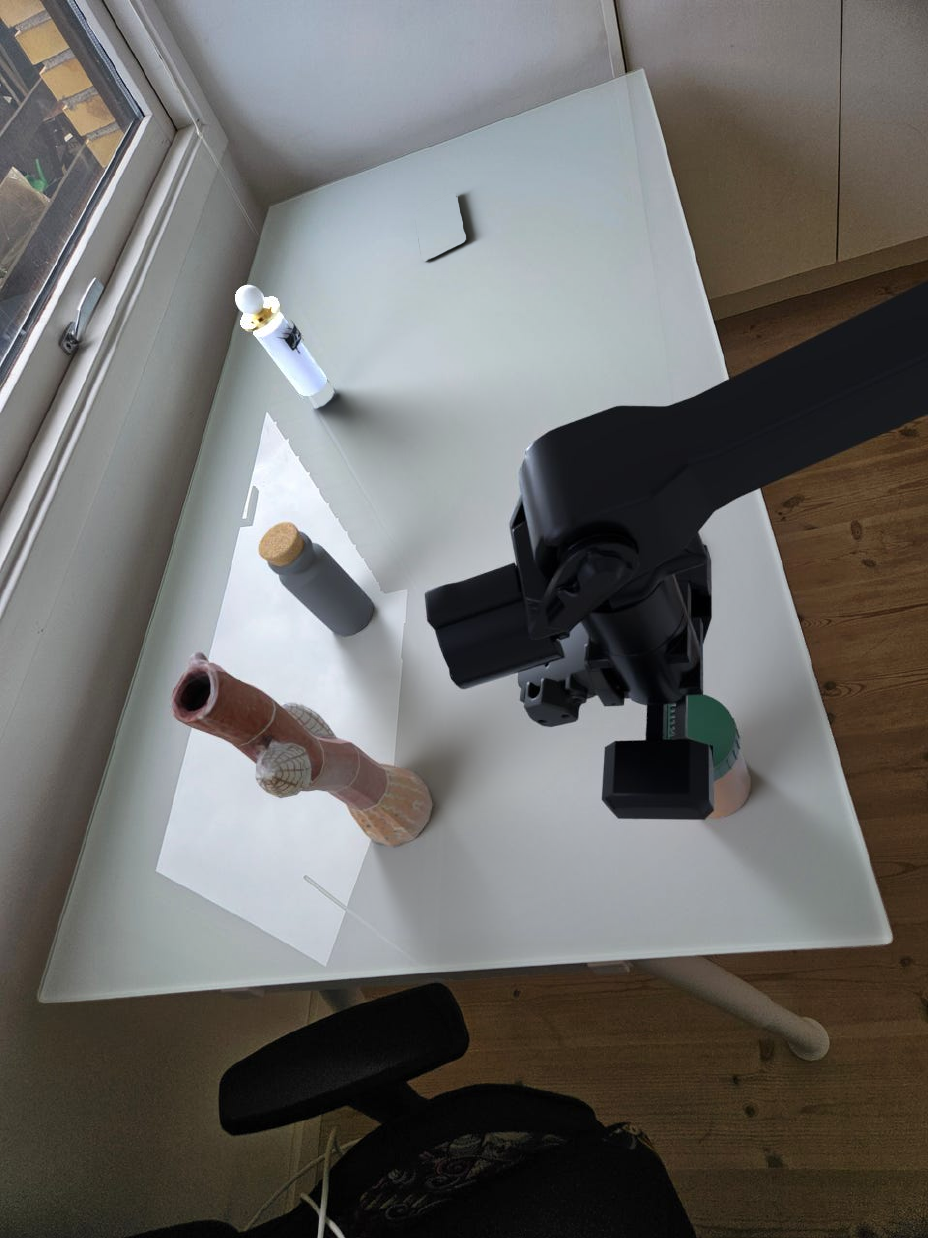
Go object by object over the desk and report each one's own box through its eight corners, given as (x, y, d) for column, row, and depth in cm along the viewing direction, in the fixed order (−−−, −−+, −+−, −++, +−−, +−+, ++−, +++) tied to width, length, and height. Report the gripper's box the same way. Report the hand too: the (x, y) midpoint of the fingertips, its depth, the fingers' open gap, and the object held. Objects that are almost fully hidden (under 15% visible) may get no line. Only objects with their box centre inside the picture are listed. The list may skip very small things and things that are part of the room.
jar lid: (760, 743, 59) (756, 730, 57) (694, 804, 59) (689, 794, 57) (695, 689, 63) (689, 676, 62) (633, 746, 63) (626, 734, 61)
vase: (365, 777, 82) (161, 630, 59) (431, 760, 79) (246, 600, 56) (365, 882, 75) (138, 763, 53) (437, 867, 73) (232, 736, 50)
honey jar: (767, 783, 66) (751, 733, 58) (713, 833, 65) (690, 791, 58) (712, 735, 69) (690, 683, 62) (661, 783, 69) (633, 737, 61)
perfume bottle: (304, 419, 118) (218, 310, 103) (310, 392, 121) (227, 281, 106) (338, 409, 116) (255, 295, 101) (343, 381, 119) (264, 267, 104)
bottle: (321, 618, 96) (244, 545, 84) (358, 585, 96) (286, 507, 85) (344, 646, 92) (267, 573, 80) (382, 611, 92) (311, 534, 81)
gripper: (518, 503, 54) (584, 622, 66) (482, 770, 45) (566, 851, 57) (689, 477, 49) (727, 609, 61) (687, 767, 40) (732, 856, 52)
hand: (684, 724), depth 58 cm, fingers open, 8 cm apart
